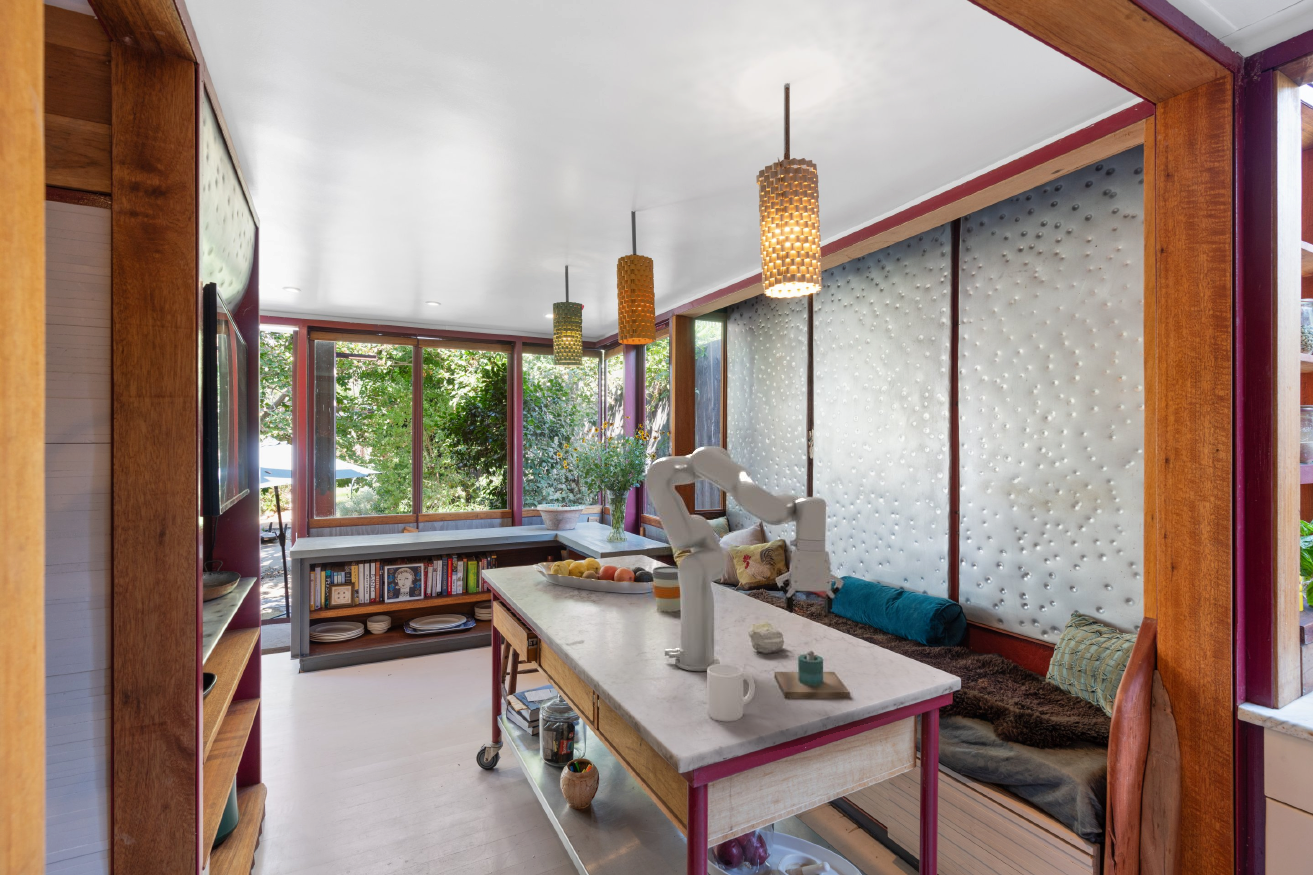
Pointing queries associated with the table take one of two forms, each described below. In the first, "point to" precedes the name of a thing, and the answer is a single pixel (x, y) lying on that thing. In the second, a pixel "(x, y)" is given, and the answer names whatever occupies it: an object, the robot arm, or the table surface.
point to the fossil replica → (766, 638)
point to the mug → (727, 692)
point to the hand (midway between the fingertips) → (808, 611)
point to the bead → (810, 670)
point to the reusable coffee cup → (666, 588)
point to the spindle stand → (795, 689)
